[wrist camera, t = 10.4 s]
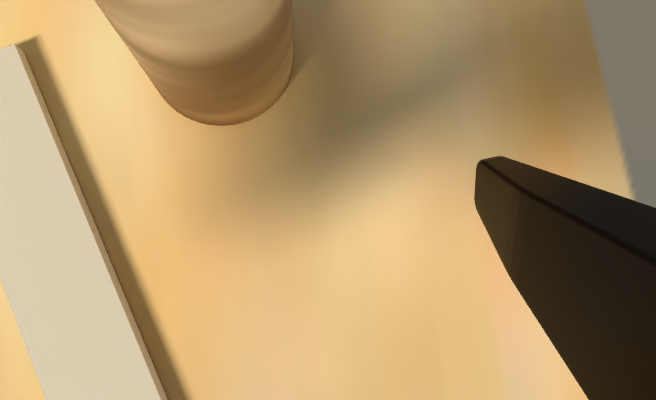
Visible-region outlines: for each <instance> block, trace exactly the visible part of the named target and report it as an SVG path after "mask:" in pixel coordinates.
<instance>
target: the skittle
mask: <svg viewBox="0 0 656 400" xmlns="http://www.w3.org/2000/svg"><path fill="white" fill-rule="evenodd" d="M95 2H96V3H97V5H98V6H99V7H100V9H101V10H102V12H103V13H104V15H105V16H106V17H107V19H108V20H109V22H110V23H111V25H112V26H113V27H114V29H115V30H116V32H117V33H118V34H119V36H120V37H121V39H122V40H123V42H124V43H125V44H126V46H127V47H128V49H129V50H130V52H131V53H132V54H133V56H134V57H135V59H136V60H137V61H138V63H139V64H140V66H141V67H142V69H143V70H144V71H145V73H146V74H147V76H148V77H149V79H150V80H151V81H152V83H153V84H154V86H155V87H156V88H157V90H158V91H159V93H160V94H161V96H162V97H163V98H164V100H165V101H166V102H167V103H168V104H169V105H170V106H171V107H172V108H173V109H175V110H176V111H177V112H179V113H180V114H182V115H183V116H185V117H187V118H189V119H191V120H194V121H197V122H200V123H204V124H209V125H219V126H222V125H233V124H239V123H242V122H245V121H248V120H251V119H253V118H255V117H257V116H259V115H260V114H262V113H264V112H265V111H266V110H268V109H269V108H270V107H271V106H272V105H273V104H274V103H275V102H276V101H277V100H278V99H279V98H280V96H281V95H282V93H283V92H284V90H285V88H286V86H287V84H288V82H289V79H290V76H291V72H292V66H293V41H292V1H291V0H95Z"/></svg>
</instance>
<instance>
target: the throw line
mask: <svg viewBox="0 0 656 400" xmlns="http://www.w3.org/2000/svg"><path fill="white" fill-rule="evenodd" d="M0 279H1V282H2V284H3V287H4V290H5V292H6V295H7V298H8V300H9V303H10V306H11V308H12V311H13V313H14V316H15V319H16V321H17V324H18V327H19V329H20V332H21V335H22V337H23V340H24V343H25V345H26V348H27V350H28V353H29V356H30V358H31V361H32V364H33V366H34V369H35V372H36V374H37V377H38V380H39V382H40V385H41V387H42V390H43V393H44V395H45V398H46V400H168V399H167V397H166V394H165V392H164V389H163V387H162V384H161V382H160V380H159V377H158V375H157V372H156V370H155V368H154V365H153V363H152V360H151V358H150V355H149V353H148V351H147V348H146V346H145V343H144V341H143V339H142V336H141V334H140V331H139V329H138V326H137V324H136V322H135V319H134V317H133V314H132V312H131V310H130V307H129V305H128V302H127V300H126V297H125V295H124V293H123V290H122V288H121V285H120V283H119V281H118V278H117V276H116V273H115V271H114V268H113V266H112V264H111V261H110V259H109V256H108V254H107V252H106V249H105V247H104V244H103V242H102V239H101V237H100V235H99V232H98V230H97V227H96V225H95V223H94V220H93V218H92V215H91V213H90V210H89V208H88V206H87V203H86V201H85V198H84V196H83V194H82V191H81V189H80V186H79V184H78V181H77V179H76V177H75V174H74V172H73V169H72V167H71V165H70V162H69V160H68V157H67V155H66V152H65V150H64V148H63V145H62V143H61V140H60V138H59V136H58V133H57V131H56V128H55V126H54V123H53V121H52V119H51V116H50V114H49V111H48V109H47V107H46V104H45V102H44V99H43V97H42V94H41V92H40V90H39V87H38V85H37V82H36V80H35V78H34V75H33V73H32V70H31V68H30V65H29V63H28V61H27V58H26V56H25V53H24V52H23V51H22V50H21V49H20V48H18V47H17V46H16V45H15V44H13V45H11V46H8V47H6V48H3V49H0Z"/></svg>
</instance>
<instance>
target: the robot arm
mask: <svg viewBox="0 0 656 400" xmlns="http://www.w3.org/2000/svg"><path fill="white" fill-rule="evenodd" d="M474 200H475V206H476V209H477V211H478V214H479V216H480V218H481V220H482V222H483V224H484V226H485V228H486V230H487V232H488V234H489V236H490V238H491V240H492V242H493V244H494V246H495V248H496V250H497V253H498V255H499V257H500V259H501V261H502V263H503V265H504V267H505V269H506V271H507V273H508V274H509V276H510V278H511V280H512V281H513V283H514V284H515V286H516V288H517V289H518V291H519V292H520V294H521V295H522V297H523V299H524V300H525V302H526V303H527V305H528V306H529V308H530V309H531V311H532V313H533V314H534V316H535V317H536V319H537V320H538V322H539V323H540V325H541V326H542V328H543V330H544V331H545V333H546V334H547V336H548V337H549V339H550V340H551V342H552V344H553V345H554V347H555V348H556V350H557V351H558V353H559V354H560V356H561V357H562V359H563V361H564V362H565V364H566V365H567V367H568V368H569V370H570V371H571V373H572V375H573V376H574V378H575V379H576V381H577V382H578V384H579V385H580V387H581V388H582V390H583V392H584V393H585V395H586V396H587V398H588V399H589V400H656V208H654V207H651V206H648V205H645V204H642V203H639V202H636V201H633V200H630V199H627V198H625V197H622V196H619V195H616V194H613V193H610V192H607V191H604V190H601V189H598V188H595V187H592V186H589V185H586V184H583V183H580V182H577V181H574V180H571V179H568V178H565V177H562V176H559V175H556V174H553V173H550V172H547V171H544V170H542V169H539V168H536V167H533V166H530V165H527V164H524V163H521V162H518V161H515V160H512V159H509V158H506V157H503V156H496V157H492V158H487V159H483V160H480V161H479V162H478V164H477V167H476V180H475V196H474Z"/></svg>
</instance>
